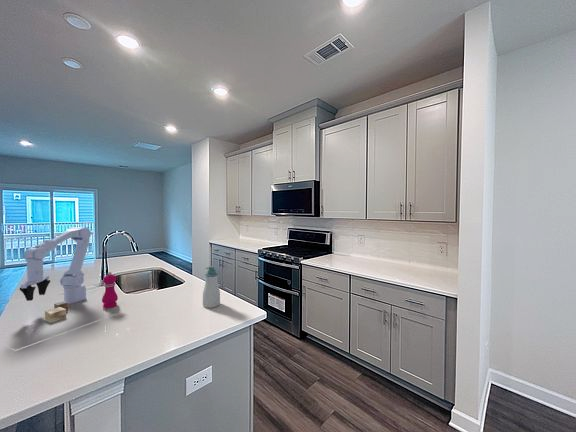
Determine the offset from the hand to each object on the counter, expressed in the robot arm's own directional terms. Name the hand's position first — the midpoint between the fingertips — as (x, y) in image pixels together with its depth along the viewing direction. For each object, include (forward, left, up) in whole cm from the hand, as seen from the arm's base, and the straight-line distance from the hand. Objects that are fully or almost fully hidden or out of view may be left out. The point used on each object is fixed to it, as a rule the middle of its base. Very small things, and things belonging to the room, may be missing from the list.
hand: (36, 297), depth 126 cm
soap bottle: (-53, +68, -10) cm, 87 cm away
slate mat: (-6, +9, -10) cm, 15 cm away
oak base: (-3, +13, -9) cm, 16 cm away
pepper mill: (-24, +20, -10) cm, 33 cm away
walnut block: (-8, +5, -9) cm, 13 cm away
